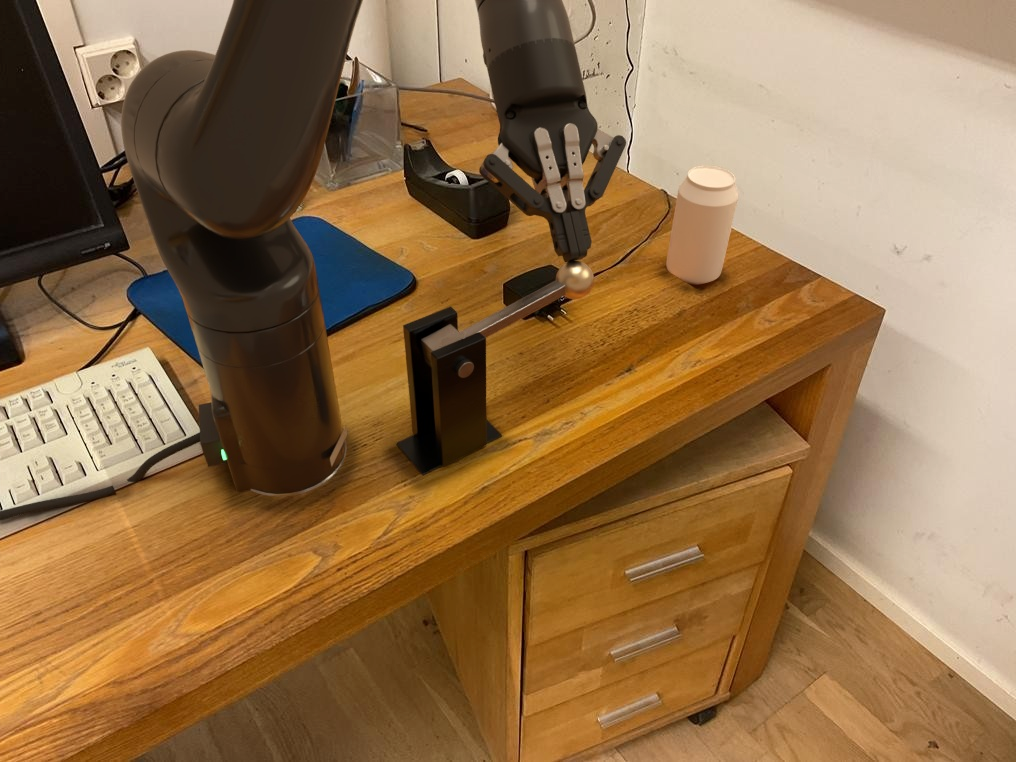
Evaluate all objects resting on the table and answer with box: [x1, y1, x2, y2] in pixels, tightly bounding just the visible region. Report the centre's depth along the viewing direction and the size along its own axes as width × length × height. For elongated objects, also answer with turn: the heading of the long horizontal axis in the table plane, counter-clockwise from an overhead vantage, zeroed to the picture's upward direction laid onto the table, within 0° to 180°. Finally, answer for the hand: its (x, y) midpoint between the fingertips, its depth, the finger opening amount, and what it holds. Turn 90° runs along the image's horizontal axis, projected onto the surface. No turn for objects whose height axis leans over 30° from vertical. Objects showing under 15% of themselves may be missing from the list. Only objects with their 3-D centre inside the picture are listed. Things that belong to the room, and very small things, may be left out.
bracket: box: [395, 306, 503, 477], centre depth 66 cm, size 8×6×13 cm
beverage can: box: [665, 165, 740, 285], centre depth 87 cm, size 6×6×12 cm
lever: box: [421, 260, 595, 367], centre depth 65 cm, size 16×3×3 cm, turn 126°
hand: (576, 258), depth 67 cm, fingers closed
